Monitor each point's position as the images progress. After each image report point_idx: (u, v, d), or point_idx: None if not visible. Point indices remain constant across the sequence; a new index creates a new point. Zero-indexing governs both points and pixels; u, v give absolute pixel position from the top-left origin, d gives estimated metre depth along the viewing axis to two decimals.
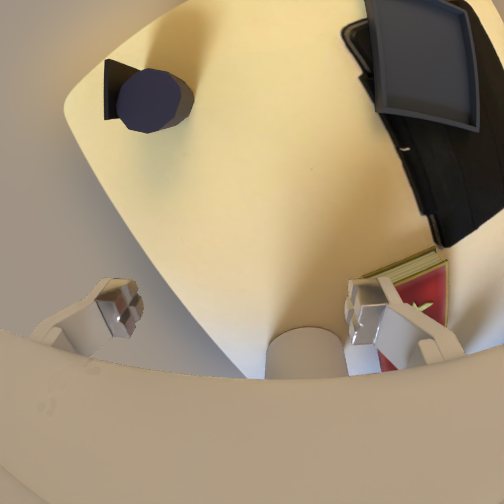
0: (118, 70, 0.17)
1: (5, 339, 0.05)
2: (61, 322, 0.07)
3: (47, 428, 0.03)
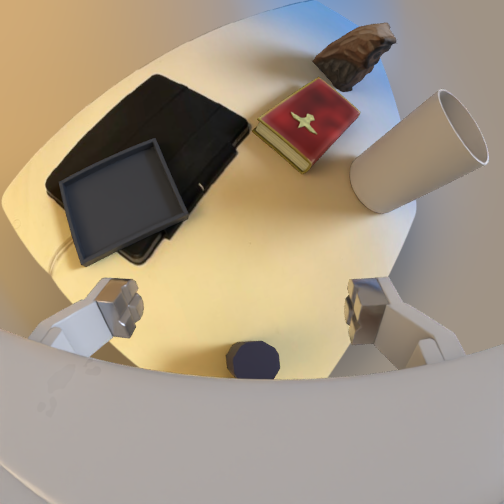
0: None
1: (5, 339, 0.05)
2: (61, 322, 0.07)
3: (47, 428, 0.03)
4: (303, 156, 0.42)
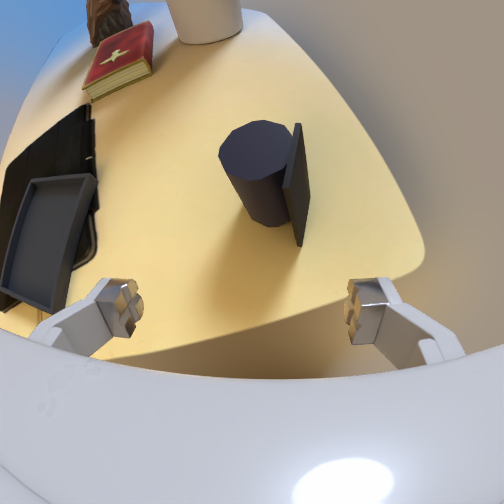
0: None
1: (5, 339, 0.05)
2: (61, 322, 0.07)
3: (47, 428, 0.03)
4: (133, 63, 0.31)
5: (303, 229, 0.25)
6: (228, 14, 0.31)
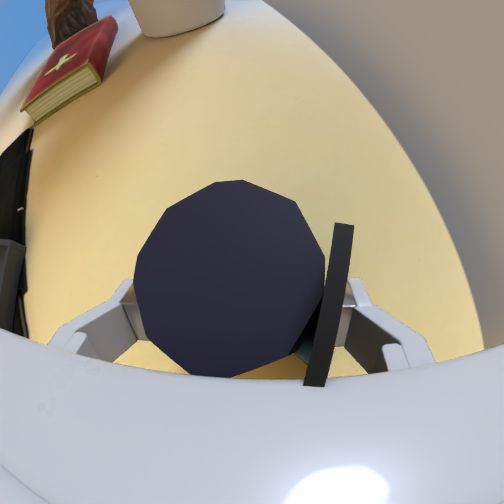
0: None
1: (5, 338, 0.05)
2: (84, 327, 0.07)
3: (47, 428, 0.03)
4: (75, 70, 0.20)
5: None
6: None
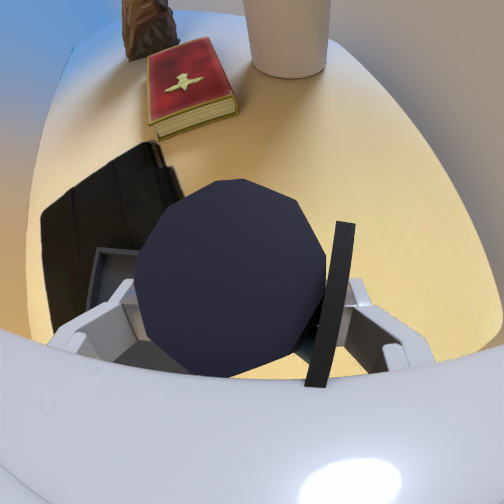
0: None
1: (5, 339, 0.05)
2: (84, 327, 0.07)
3: (47, 428, 0.03)
4: (220, 98, 0.31)
5: None
6: (321, 49, 0.30)
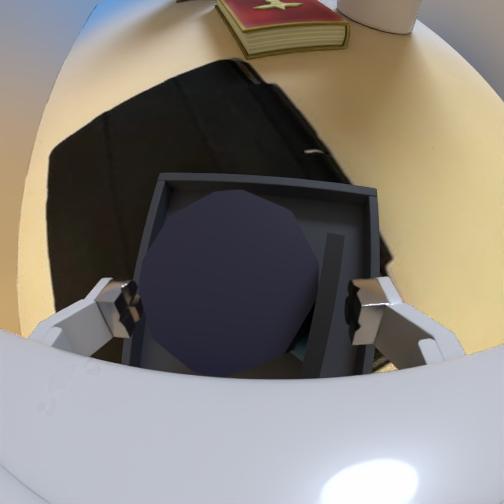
0: None
1: (5, 339, 0.05)
2: (61, 322, 0.07)
3: (47, 428, 0.03)
4: (334, 22, 0.19)
5: None
6: (417, 9, 0.19)
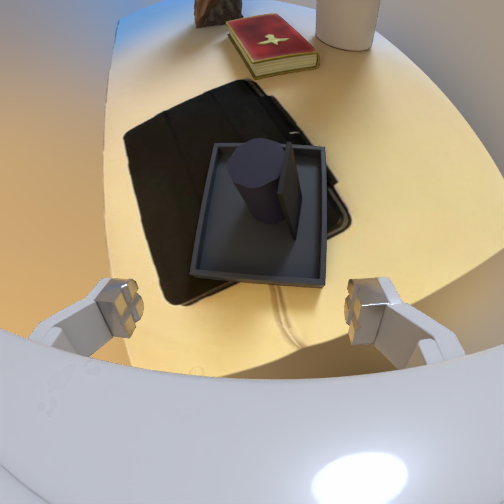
0: None
1: (5, 339, 0.05)
2: (61, 322, 0.07)
3: (47, 428, 0.03)
4: (308, 52, 0.35)
5: (297, 225, 0.30)
6: (372, 31, 0.35)
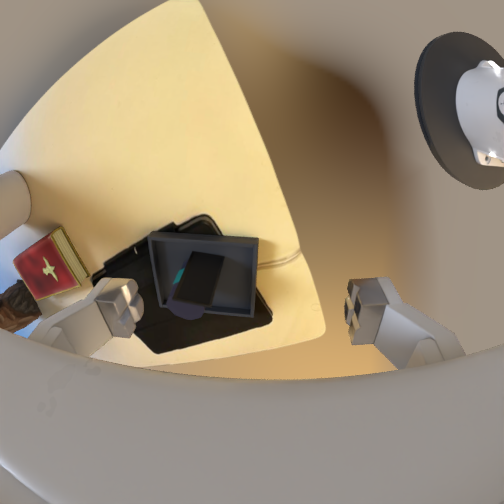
0: None
1: (5, 339, 0.05)
2: (61, 322, 0.07)
3: (47, 428, 0.03)
4: (54, 243, 0.40)
5: (214, 256, 0.42)
6: (4, 181, 0.33)
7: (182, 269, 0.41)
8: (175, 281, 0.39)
